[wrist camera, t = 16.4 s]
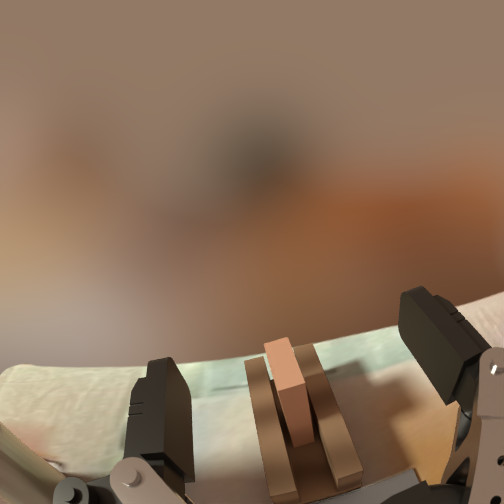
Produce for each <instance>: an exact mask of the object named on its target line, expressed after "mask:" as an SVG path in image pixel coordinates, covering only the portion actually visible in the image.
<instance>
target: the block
mask: <svg viewBox="0 0 504 504" xmlns="http://www.w3.org/2000/svg"><path fill="white" fill-rule="evenodd" d="M264 347H265V350H266V354H267V358H268V361H269V365H270V368H271V372H272V375H273V379H274V382H275V386H276V389H277V393H278V396H279V400H280V403H281V406H282V410H283V413H284V416H285V420H286V423H287V426H288V430H289V433H290V436H291V440H292V443H293V446H294V448H296V447H299V446H302V445H306V444H309V443H312V442H315V440H314V434H313V428H312V421H311V415H310V409H309V403H308V396H307V390H306V384H305V381H304V378H303V376H302V373H301V370H300V368H299V365H298V363H297V360H296V358H295V355H294V352H293V350H292V347H291V345H290V342H289V339H288V337H286V338H282V339H279V340H276V341H272V342H269V343H265V344H264Z"/></svg>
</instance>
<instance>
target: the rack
mask: <svg viewBox="0 0 504 504" xmlns="http://www.w3.org/2000/svg"><path fill="white" fill-rule="evenodd" d="M293 349H294V354H295V358H296V360H297V363H298V365H299V368H300V370H301V373H302V376H303V378H304V381H305V384H306V390H307V396H308V403H309V409H310V415H311V421H312V428H313V434H314V440H315V442H312V443H309V444H306V445H302V446H299V447H296V448H294V446H293V443H292V440H291V436H290V433H289V430H288V426H287V423H286V420H285V416H284V413H283V410H282V406H281V403H280V400H279V396H278V393H277V389H276V386H275V382H274V379H273V380H270V378H269V374H268V371H267V367H266V364H265V361H264V357H263V356H262V357H258V358H254V359H250V360H246V361H244V363H245V369H246V375H247V380H248V386H249V391H250V397H251V402H252V408H253V413H254V418H255V424H256V429H257V434H258V439H259V445H260V450H261V455H262V460H263V465H264V470H265V475H266V480H267V485H268V490H269V495H270V497H271V499H272V500H273V502H274V503H275V504H308V503H312V502H316V501H320V500H323V499H327V498H330V497H333V496H336V495H340V494H343V493H346V492H349V491H352V490H355V489H357V488H360V487H361V486H362V483H361V479H362V474H363V468H362V465H361V462H360V460H359V457H358V455H357V452H356V450H355V447H354V445H353V442H352V440H351V437H350V435H349V432H348V430H347V427H346V425H345V422H344V420H343V417H342V415H341V412H340V410H339V407H338V405H337V402H336V400H335V397H334V395H333V392H332V390H331V387H330V385H329V382H328V380H327V378H326V375H325V373H324V370H323V368H322V365H321V363H320V361H319V358H318V356H317V353H316V351H315V348H314V346H313V344H312V343H309V344H306V345H303V346H299V347H295V348H293Z"/></svg>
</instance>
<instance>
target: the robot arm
mask: <svg viewBox="0 0 504 504" xmlns="http://www.w3.org/2000/svg"><path fill="white" fill-rule="evenodd" d="M398 328H399V333H400V336H401V338H402V340H403V342H404V343H405V345H406V346H407V347H408V349H409V350H410V352H411V353H412V355H413V356H414V358H415V359H416V360H417V362H418V363H419V365H420V366H421V368H422V369H423V371H424V372H425V374H426V375H427V377H428V378H429V380H430V381H431V383H432V384H433V386H434V387H435V389H436V391H437V392H438V394H439V395H440V397H441V398H442V400H443V401H444V403H445V405H446V406H447V405H448V404H450V403H452V402H454V401H456V400H457V402H458V403H459V405H460V406H459V408H458V413H457V420H456V427H455V433H454V439H453V444H452V450H451V454H450V458H449V461H448V463H447V465H446V468H445V470H444V473H443V476H442V480H441V484H435V485H429V486H428V484H427V482H426V480H425V481H423V482H420V483H418V484H416V485H414V486H412V487H410V488H408V489H406V490H403V491H401V492H399V493H397V494H394V495H392V496H391V497H389V498H388V499H386V500H385V501H383V502H382V503H381V504H504V348H500V347H494V348H492V347H491V346H490V345H489V344H488V343H487V342H486V340H485V339H484V338H483V337H482V336H481V335H480V334H479V333H478V331H477V330H476V329H475V328H474V327H473V326H472V325H471V324H470V323H469V322H468V320H465V317H464V316H463V315H462V314H461V313H460V312H458V310H457V309H456V308H455V307H454V305H453V304H452V303H451V302H450V301H448V300H446V299H444V298H442V297H440V296H438V295H436V296H432V295H431V294H430V293H429V292H428V291H427V290H426V289H425V288H424V287H423V286H419V287H416V288H413V289H410V290H408V291H405V292H403V293H402V294H401V298H400V311H399V321H398ZM128 415H129V417H128V422H127V431H126V440H125V450H124V457H123V460H121V461H119V462H118V463H117V464H116V465H115V466H114V468H113V469H112V471H111V474H110V475H108V476H106V477H103V478H100V479H97V480H94V481H90V482H87V483H85V482H84V481H82V480H81V479H79V478H77V477H66V476H65V475H64V474H62V473H61V472H60V471H58V470H57V469H56V468H54V467H53V466H52V465H50V464H49V463H48V462H47V461H45V460H44V459H43V458H41V457H40V456H39V455H38V454H36V453H35V452H34V451H33V450H31V449H30V448H29V447H28V446H27V445H25V444H24V443H23V442H22V441H21V440H20V439H19V438H17V437H16V436H15V435H14V434H13V433H12V432H11V431H10V430H9V429H7V428H6V427H5V426H4V425H3V424H2V423H1V422H0V498H1V499H3V500H5V501H6V502H8V503H9V504H195V503H194V502H193V501H192V500H191V499H190V498H189V497H188V496H187V495H186V494H185V483H188V482H195V473H194V455H193V434H192V404H191V395H190V391H189V388H188V385H187V383H186V381H185V380H184V378H183V376H182V375H181V373H180V371H179V369H178V368H177V366H176V364H175V362H174V361H173V359H172V358H171V357H167V358H163V359H157V360H152V361H149V362H148V366H147V374H146V377H144V378H139V379H138V380H137V382H136V384H135V386H134V387H133V389H132V391H131V398H130V407H129V414H128Z"/></svg>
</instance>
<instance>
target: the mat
mask: <svg viewBox="0 0 504 504" xmlns="http://www.w3.org/2000/svg"><path fill="white" fill-rule="evenodd" d="M418 483H419V481H418V479H417V477H416V474H415V472H414V470H413V468H412V469H410V470H407V471H405V472H403V473H401V474H398V475H396V476H394V477H391V478H389V479H387V480H384V481H382V482H379V483H377V484H374V485H371V486H369V487H366V488H363V489H361V490H358V491H355V492H352V493H349V494H346V495H343V496H340V497H337V498H333V499H330V500H327V501H323V502H320V503H316V504H381V503H382V502H383V501H385V500H386V499H388V498H389V497H391V496H392V495H394V494H397V493H399V492H401V491H403V490H406V489H408V488H410V487H412V486H414V485H416V484H418Z"/></svg>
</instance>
